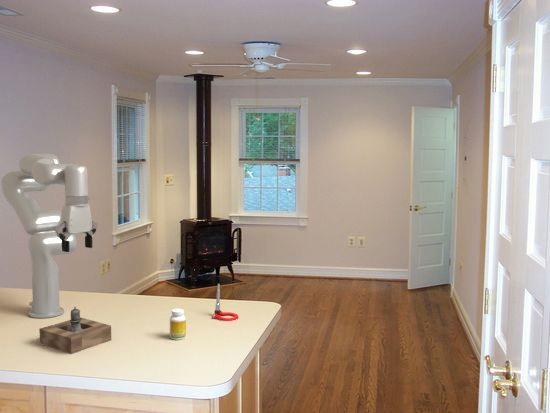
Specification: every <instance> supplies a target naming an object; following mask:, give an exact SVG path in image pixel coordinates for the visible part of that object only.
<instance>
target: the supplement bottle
mask: <svg viewBox="0 0 550 413" xmlns="http://www.w3.org/2000/svg"><path fill="white" fill-rule="evenodd" d="M184 314H185V311H184V309H182V308H173V309H172V310H171V316H170V317H169V338H170V339H171V340H175V341H179V340H184V339H185V338H186V328H187V326H186V324H187V323H186V322H187V320H186V319H187V318H186V316H185V315H184Z"/></svg>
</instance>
